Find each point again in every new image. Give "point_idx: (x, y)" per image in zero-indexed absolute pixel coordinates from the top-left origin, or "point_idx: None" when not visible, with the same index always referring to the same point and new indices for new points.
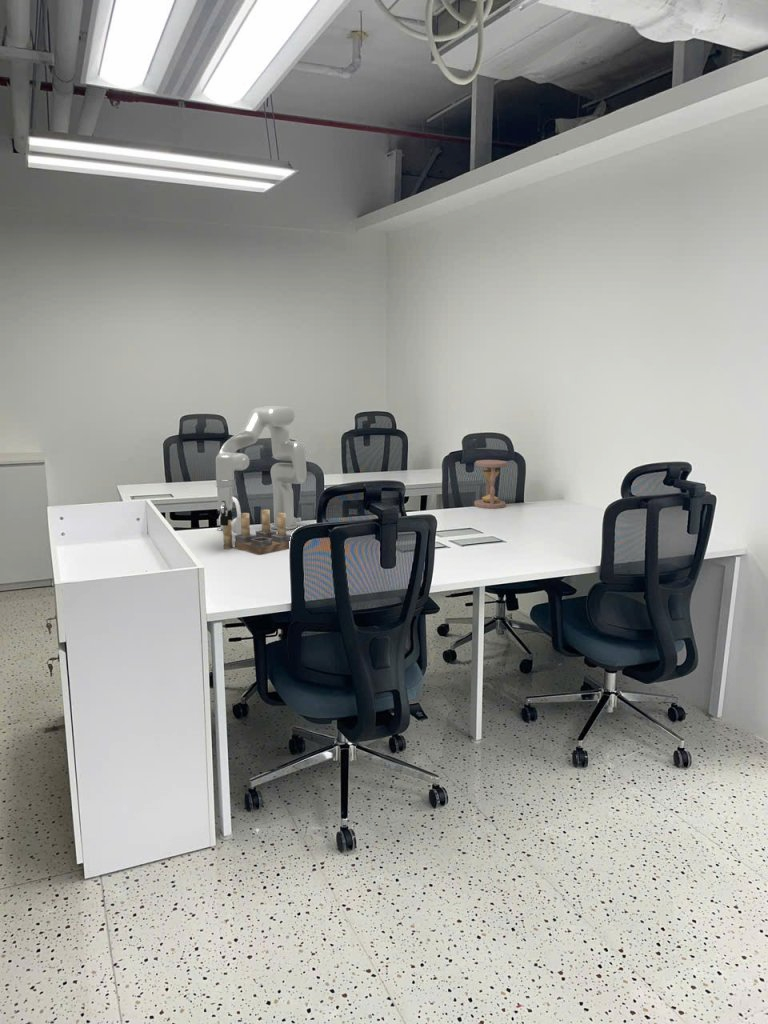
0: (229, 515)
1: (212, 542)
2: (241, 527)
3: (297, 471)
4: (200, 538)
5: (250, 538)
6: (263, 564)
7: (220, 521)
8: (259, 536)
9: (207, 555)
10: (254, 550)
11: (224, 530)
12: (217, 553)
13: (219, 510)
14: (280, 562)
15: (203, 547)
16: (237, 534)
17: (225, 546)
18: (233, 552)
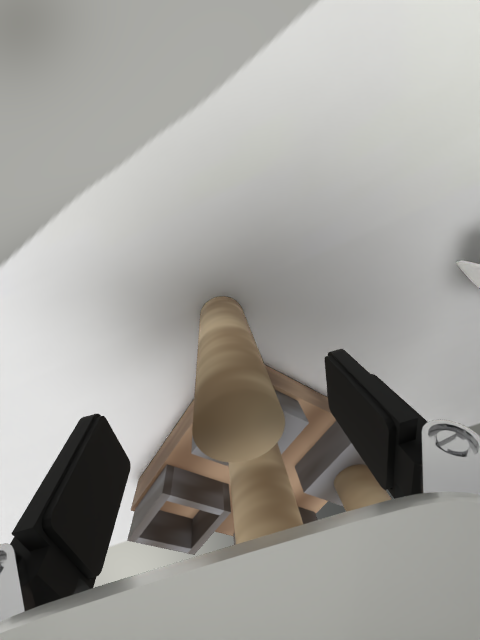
0: (360, 440)
1: (334, 170)
2: (240, 473)
3: None
4: (453, 11)
5: None
6: (12, 536)
7: (63, 452)
8: (321, 444)
9: (23, 282)
10: (153, 466)
11: (197, 362)
12: (90, 315)
13: (17, 638)
14: None
15: (197, 166)
16: (472, 268)
17: (200, 317)
18: (141, 377)
